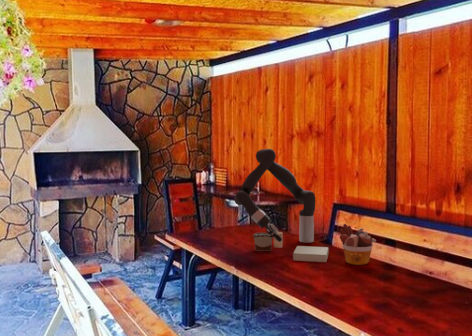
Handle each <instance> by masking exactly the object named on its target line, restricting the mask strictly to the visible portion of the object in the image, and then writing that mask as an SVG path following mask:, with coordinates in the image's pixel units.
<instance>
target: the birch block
mask: <svg viewBox="0 0 472 336" xmlns="http://www.w3.org/2000/svg"><path fill="white" fill-rule="evenodd" d="M275 232H276V231H275ZM276 233H277V234H278V235H279V236H280V237H281V238H282V240H281V241H280V242H279V241H278V240H277V239H276V238H274V237H273V248H278V249H279V248H281V249H282V248H283V247H284V245H283V243H284V242H283V241H284V240H283V239H284V235H283V234H284V233H283V231H279V232H276Z"/></svg>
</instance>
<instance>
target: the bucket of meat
mask: <svg viewBox="0 0 472 336" xmlns="http://www.w3.org/2000/svg"><path fill="white" fill-rule="evenodd" d="M342 226H343V228H340V229H339V232H340V236H339V239H340V242H341V243H342V249H343V253H344V258H345V261H346V263H347V264H350V265H353V266H363V265H364V266H365V265H367V264H368V263H369V262H370V258H371V254H372V251H373V246H374V243H376V241H377V240H376V239H375V238H372V237H371V236H370V235H369V233H368V232H367V231H364V228H362V227H360V228H359V229H357V230H356V232H355V233H354V232H353V229H352V226H351V225H347V224H346V223H344V224H343V225H342Z"/></svg>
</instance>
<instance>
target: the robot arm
mask: <svg viewBox="0 0 472 336" xmlns="http://www.w3.org/2000/svg"><path fill="white" fill-rule="evenodd" d="M276 157H277V154H276V152H275V151H274V149H271V148H264V149H260V150H258V151H257V152H256V154H255V159H256V161H257V162H258V163H259V164H258V165H257V166H256V167H255V168H254V169H253V170H252V171H251V172H250V173H249V174H248V175H247V176H246V178H245V180H244V181H243V183H242V185H241V187H240V189H239V190H238V192H237V193H236V194H235V196H234V202H235V204H236V205H238V206H242V207H243V208H244V209H245V212H246V213H247V214H248V215H249V216H250V218H251V219H252V220H253V222H255V223H256V224H257V225H258V226H259V227H260V228H261V229H263V228H265V233H269V234H270V235H271V236H272V238H273V239H274V238H276V239H277V240H278V241H279V242H280V241H281V240H282V238H281V237H280V236H279V235H278V234H277V233H276V232H280V230H279V229H278V228H277V227H276V225H275V224H274V223H271V218H270V217H269V216H268V215H267V214H266V213H265V212H264V210H262V209H261V208H260V207H259V206H258V204H256V203H255V202H254V201H253V199H252V197H251V196H250V195H251V193H252V192H253V190H254V189H255V188H256V186H257V184H258V183H259V180H260V179H262V177H263V175H264V174H265V173H266V171H267V172H268V171H269V172H270V174H272V175H273V177H274V178H275V179H276V180H277V181H278V182H279V183H280V184H281V185H282V186H283V187H284V188H286V190H287V191H289V192H290V194H291V195H292V196H293V197H294V198H295V200H296V201H297V202H298V203H299V204H301V205H303V208H302V209H300V210H299V212H298V213H299V214H298V215H299V216H298V217H299V222H298V223H299V227H298V229H299V235H298V236H299V242H300V243H307V244H308V243H309V244H311V243H313V242H314V240H315V238H314V237H315V235H314V234H315V233H314V230H315V227H314V226H315V224H314V223H315V221H314V218H315V215H314V213H315V211H316V193H314V191H311V190H305V189H304V188H303V187H301V186H300V185H299V184H298V182H297V179H296V177H295V175H294V174H293V173H292V172H291V171H290V170H289V169H288V168H286V167H284V166H282V165H281V164H280V163H278V162H276Z"/></svg>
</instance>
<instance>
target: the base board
mask: <svg viewBox="0 0 472 336" xmlns="http://www.w3.org/2000/svg"><path fill="white" fill-rule="evenodd" d="M292 257H293V258H292V259H293V260H292V261H301V262H315V263H316V262H318V263H327V260H328V257H329V247H327V246H307V245H306V246H305V245H297V246H296V248H295V249H294V251H293V254H292Z"/></svg>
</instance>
